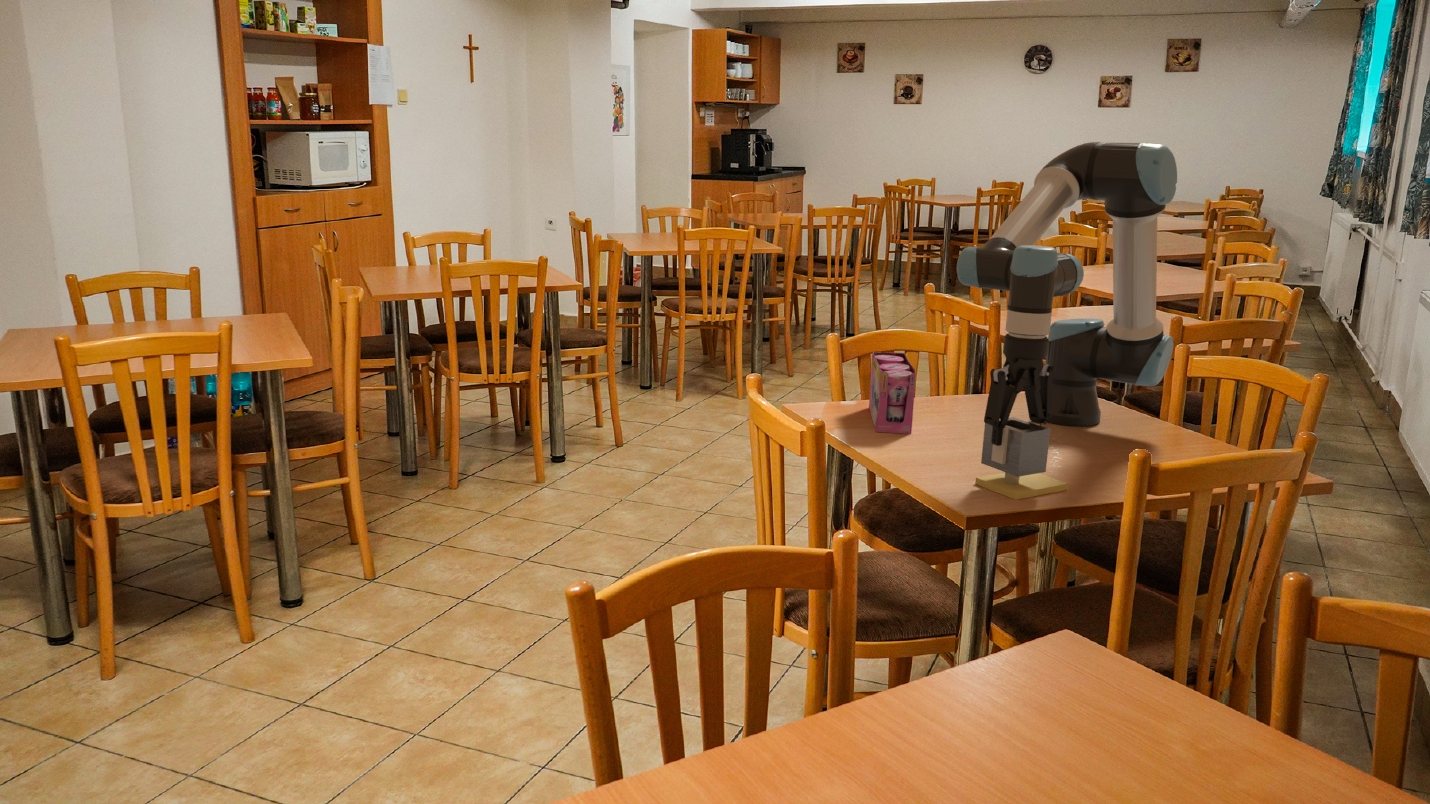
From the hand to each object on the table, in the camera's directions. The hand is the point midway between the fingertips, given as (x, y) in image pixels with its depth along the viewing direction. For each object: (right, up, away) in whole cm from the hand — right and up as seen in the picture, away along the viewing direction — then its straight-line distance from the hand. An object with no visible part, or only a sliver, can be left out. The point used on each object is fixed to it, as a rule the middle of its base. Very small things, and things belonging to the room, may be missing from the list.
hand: (1013, 459), depth 191 cm
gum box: (-15, +6, +47) cm, 50 cm away
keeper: (+2, -5, +3) cm, 6 cm away
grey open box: (0, -1, 0) cm, 2 cm away
